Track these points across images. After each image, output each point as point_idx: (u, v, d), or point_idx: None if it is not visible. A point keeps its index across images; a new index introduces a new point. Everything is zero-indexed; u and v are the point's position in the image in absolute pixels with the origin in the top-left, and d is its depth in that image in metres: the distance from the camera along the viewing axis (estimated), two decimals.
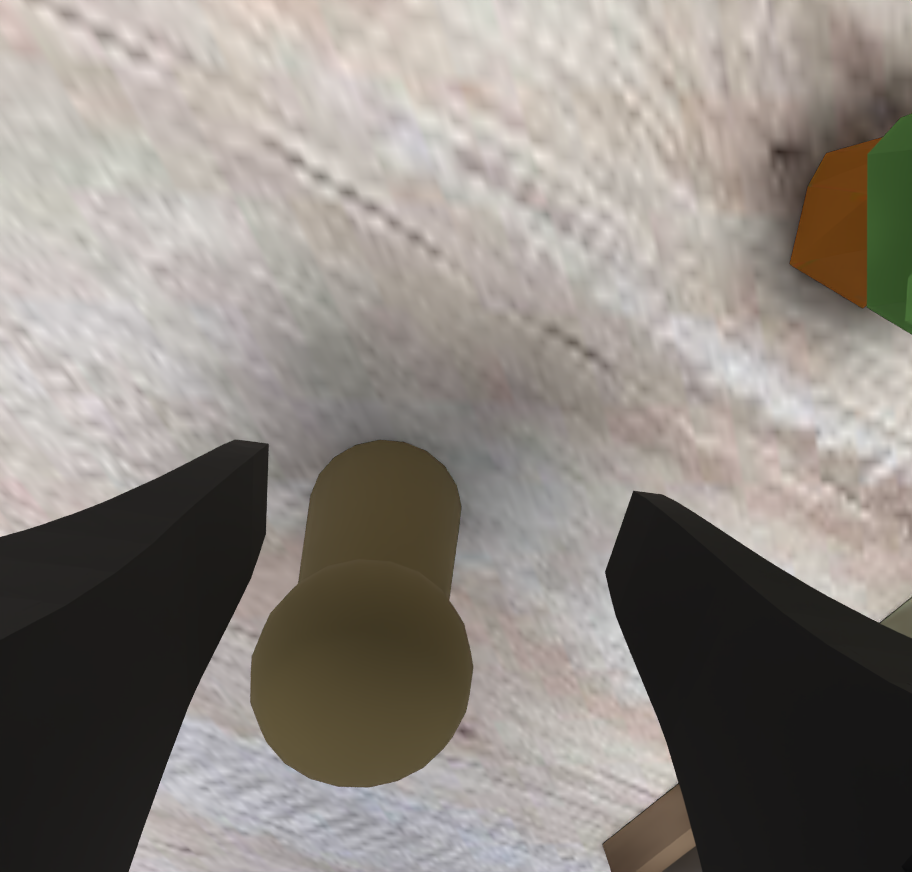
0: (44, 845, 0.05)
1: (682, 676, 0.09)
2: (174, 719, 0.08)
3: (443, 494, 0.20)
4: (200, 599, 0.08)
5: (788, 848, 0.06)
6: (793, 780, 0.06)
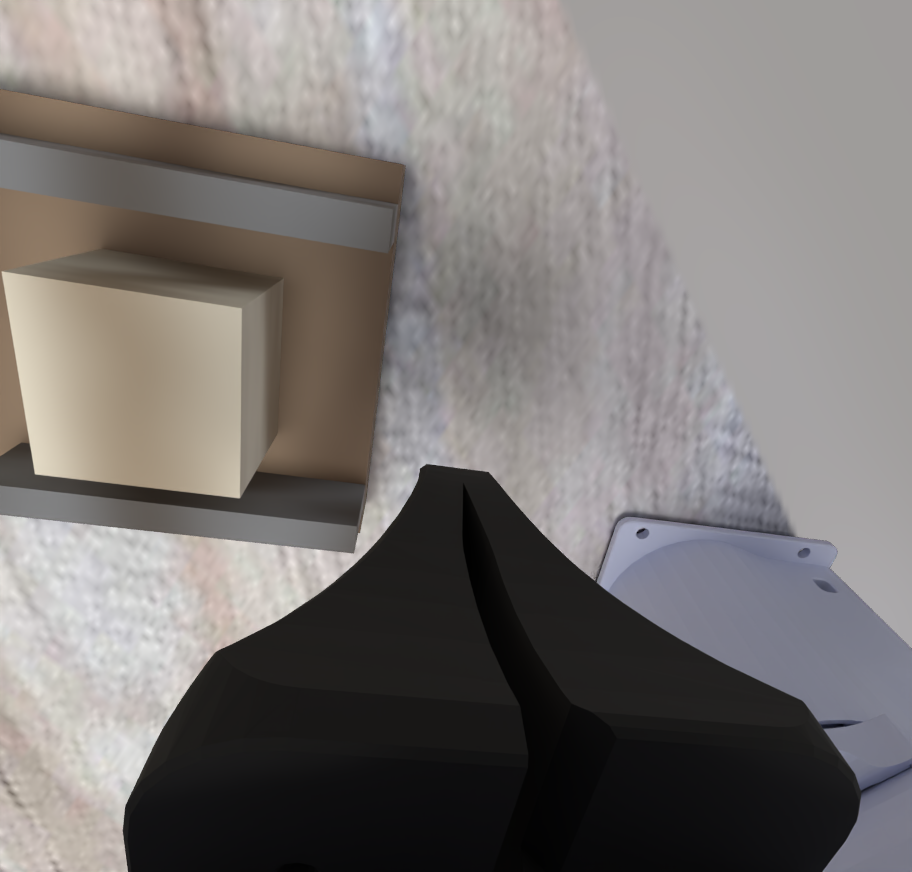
0: None
1: None
2: None
3: None
4: None
5: None
6: None
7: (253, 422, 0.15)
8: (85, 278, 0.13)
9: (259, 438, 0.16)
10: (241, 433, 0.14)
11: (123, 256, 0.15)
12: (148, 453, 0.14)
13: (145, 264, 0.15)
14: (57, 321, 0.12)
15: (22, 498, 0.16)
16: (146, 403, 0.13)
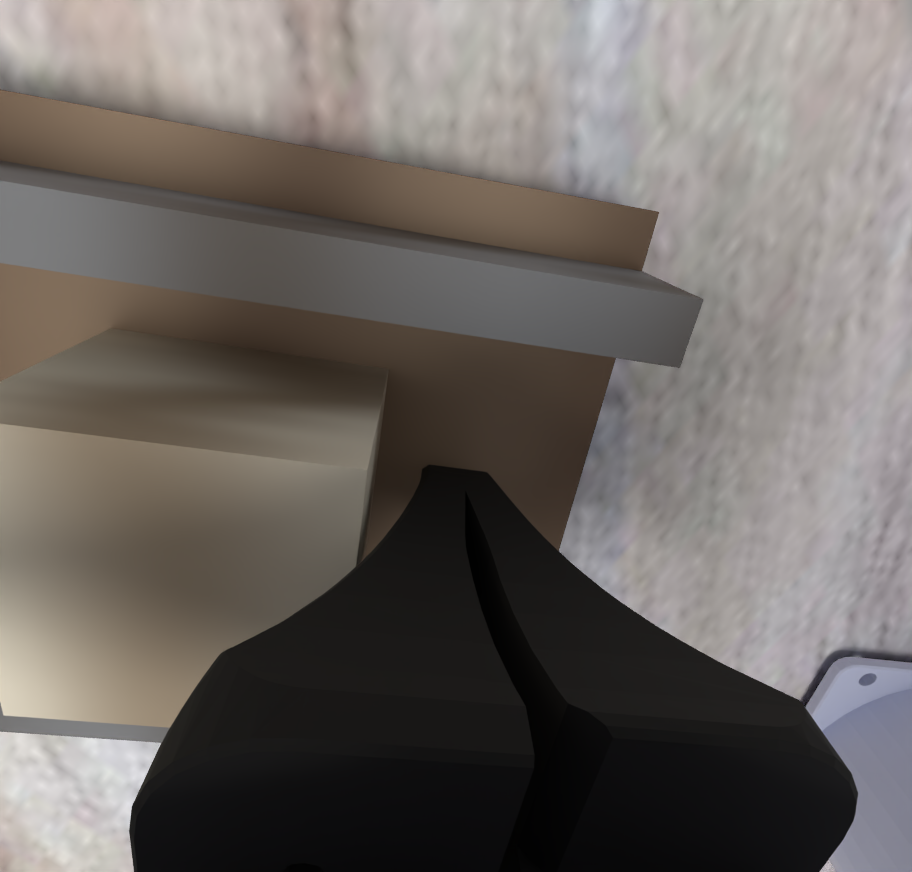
0: None
1: None
2: None
3: None
4: None
5: None
6: None
7: None
8: (87, 415, 0.07)
9: None
10: None
11: (146, 343, 0.10)
12: (191, 684, 0.08)
13: (182, 360, 0.09)
14: (37, 494, 0.07)
15: None
16: (190, 614, 0.08)
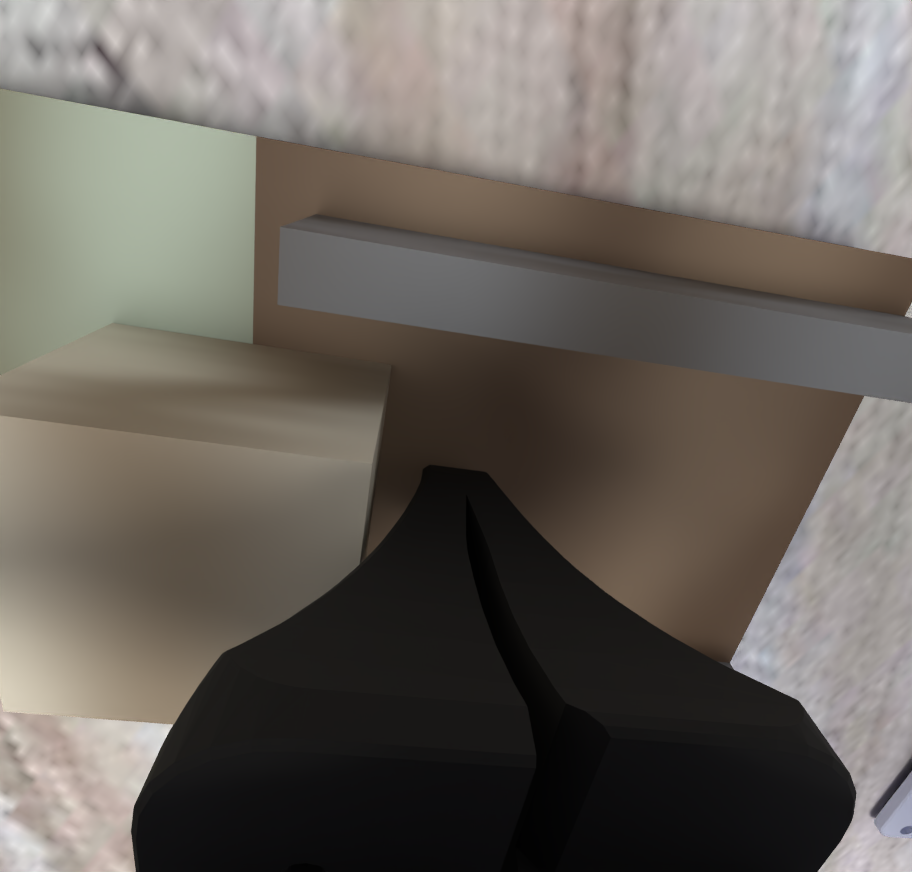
0: None
1: None
2: None
3: None
4: None
5: None
6: None
7: None
8: (90, 408, 0.07)
9: None
10: None
11: (148, 338, 0.10)
12: (193, 680, 0.08)
13: (185, 354, 0.09)
14: (39, 488, 0.07)
15: None
16: (192, 610, 0.08)
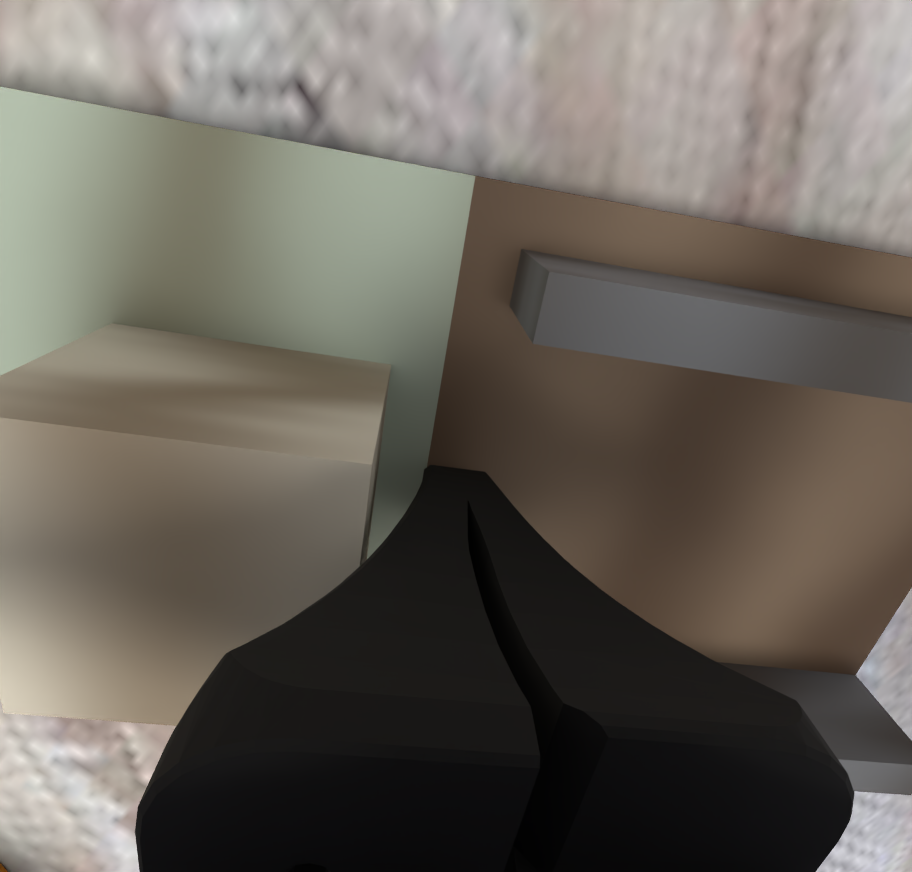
0: None
1: None
2: None
3: None
4: None
5: None
6: None
7: None
8: (88, 409, 0.07)
9: None
10: None
11: (147, 338, 0.10)
12: (193, 681, 0.08)
13: (184, 355, 0.09)
14: (37, 489, 0.07)
15: None
16: (192, 611, 0.08)
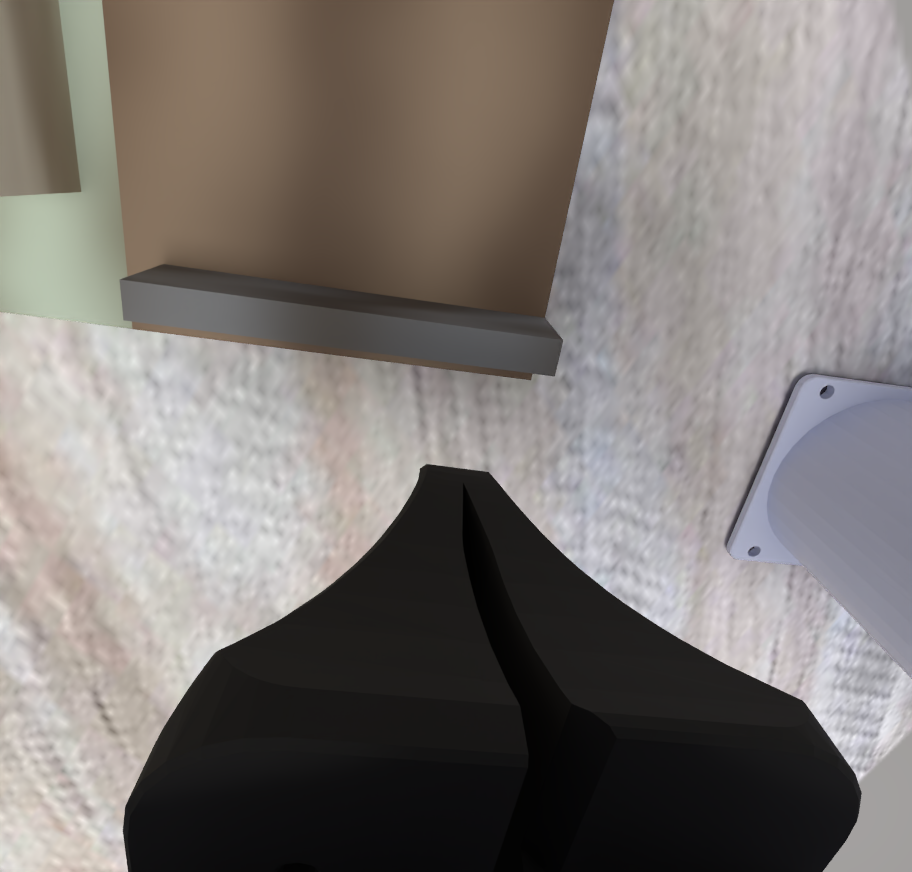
0: None
1: None
2: None
3: None
4: None
5: None
6: None
7: None
8: None
9: (21, 152, 0.12)
10: None
11: None
12: None
13: None
14: None
15: (186, 303, 0.14)
16: None
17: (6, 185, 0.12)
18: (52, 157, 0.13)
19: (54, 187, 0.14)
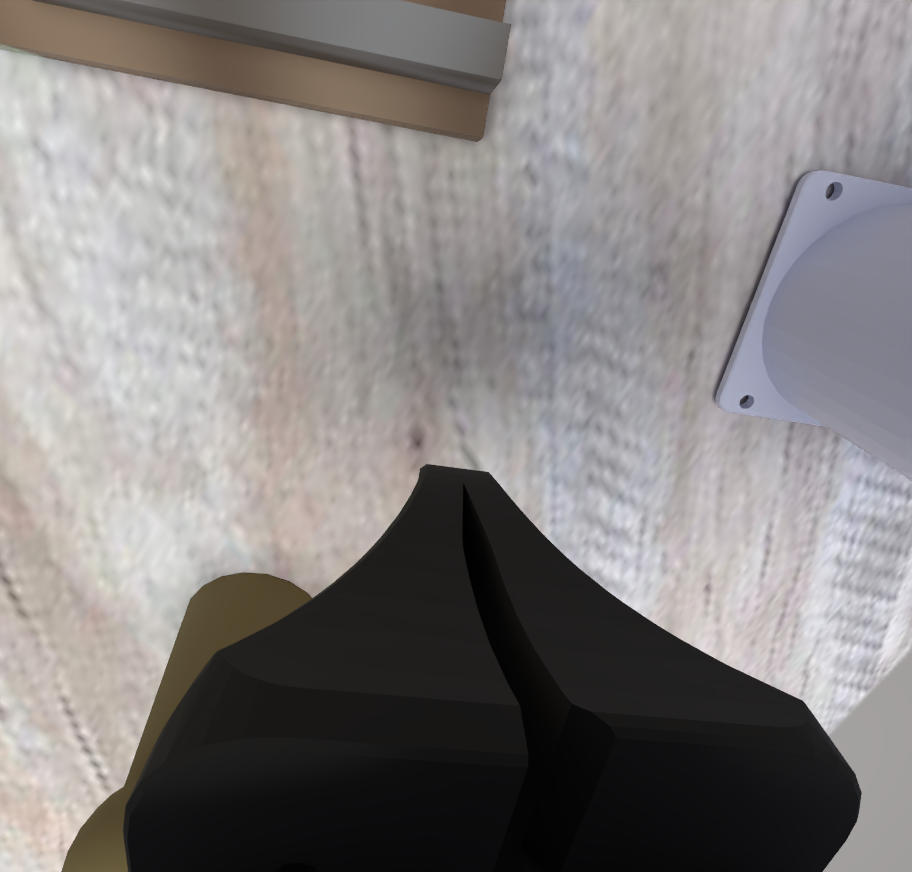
0: None
1: None
2: None
3: (171, 653, 0.22)
4: None
5: None
6: None
7: None
8: None
9: None
10: None
11: None
12: None
13: None
14: None
15: None
16: None
17: None
18: None
19: None
